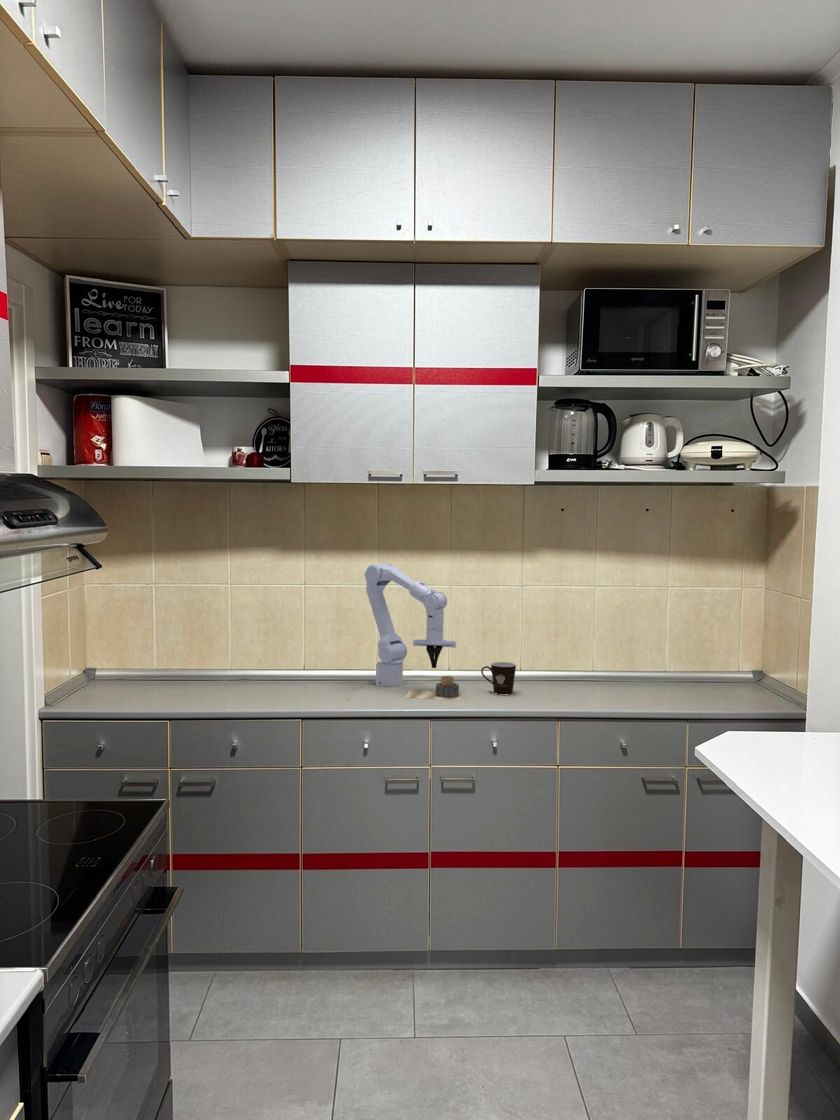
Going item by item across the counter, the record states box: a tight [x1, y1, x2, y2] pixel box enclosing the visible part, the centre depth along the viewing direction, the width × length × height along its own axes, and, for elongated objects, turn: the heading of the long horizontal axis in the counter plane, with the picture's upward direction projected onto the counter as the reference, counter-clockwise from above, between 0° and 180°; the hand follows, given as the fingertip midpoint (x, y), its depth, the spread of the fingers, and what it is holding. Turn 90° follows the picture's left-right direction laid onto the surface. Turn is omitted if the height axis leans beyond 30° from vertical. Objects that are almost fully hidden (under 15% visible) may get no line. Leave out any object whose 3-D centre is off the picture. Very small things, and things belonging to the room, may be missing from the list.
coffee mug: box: [480, 661, 517, 695], centre depth 282 cm, size 12×9×10 cm
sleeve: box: [435, 682, 460, 698], centre depth 272 cm, size 8×8×4 cm
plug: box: [440, 675, 455, 687], centre depth 272 cm, size 4×4×6 cm
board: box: [404, 689, 462, 701], centre depth 273 cm, size 18×12×1 cm, turn 84°
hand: (434, 667), depth 277 cm, fingers closed
